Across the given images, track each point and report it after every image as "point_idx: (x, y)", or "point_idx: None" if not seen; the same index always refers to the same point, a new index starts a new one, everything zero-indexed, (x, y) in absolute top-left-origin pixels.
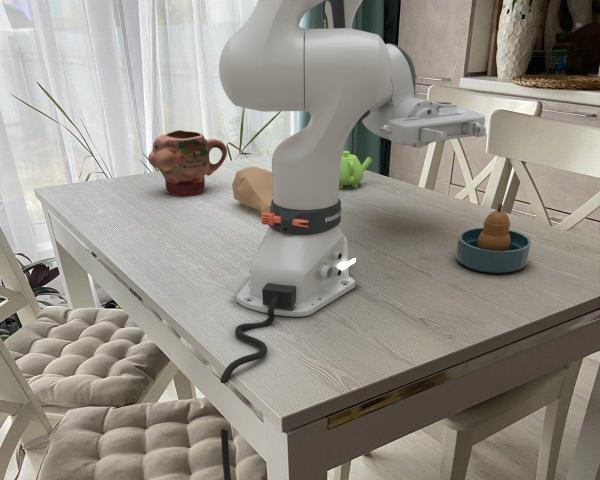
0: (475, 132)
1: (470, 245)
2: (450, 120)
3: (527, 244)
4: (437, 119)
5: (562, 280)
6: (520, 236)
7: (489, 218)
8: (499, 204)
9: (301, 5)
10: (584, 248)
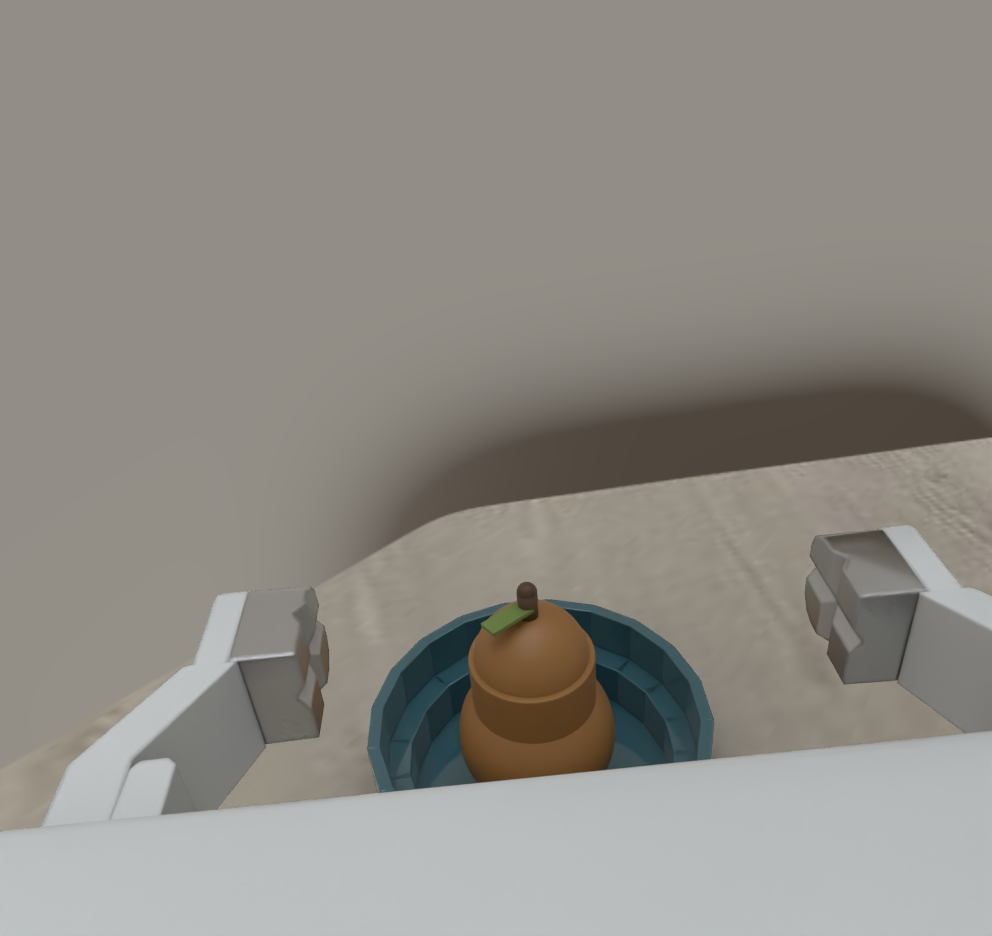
0: (312, 680)
1: (695, 691)
2: (550, 780)
3: (423, 662)
4: (772, 916)
5: (426, 595)
6: (383, 722)
7: (583, 637)
8: (533, 585)
9: None
10: (69, 757)
